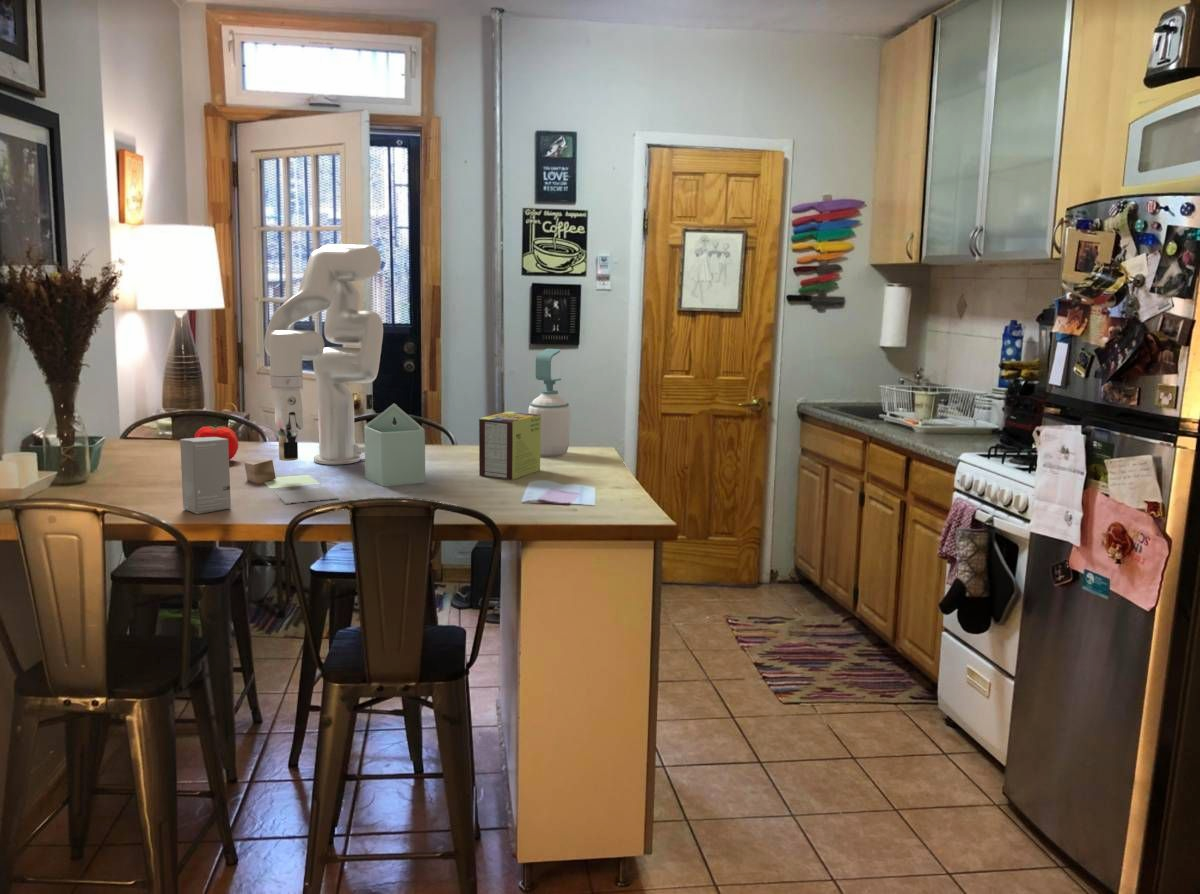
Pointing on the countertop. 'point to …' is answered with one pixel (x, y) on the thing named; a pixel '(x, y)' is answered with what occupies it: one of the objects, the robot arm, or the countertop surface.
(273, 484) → the mat
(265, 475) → the walnut block
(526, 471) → the protein box
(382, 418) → the planter
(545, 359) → the soap bottle
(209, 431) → the tomato
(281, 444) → the green lidded jar
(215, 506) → the skincare box
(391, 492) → the countertop surface
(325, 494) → the grey square tile
